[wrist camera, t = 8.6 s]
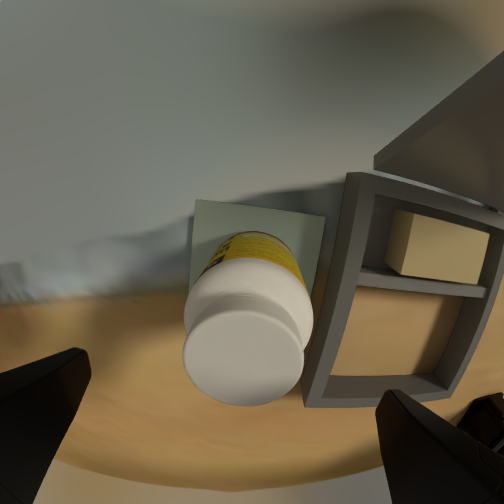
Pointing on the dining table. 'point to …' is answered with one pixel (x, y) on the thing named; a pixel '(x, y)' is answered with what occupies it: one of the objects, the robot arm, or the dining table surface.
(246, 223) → the pad
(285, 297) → the supplement bottle
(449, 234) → the case
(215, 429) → the dining table surface
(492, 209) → the rod
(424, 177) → the lid
